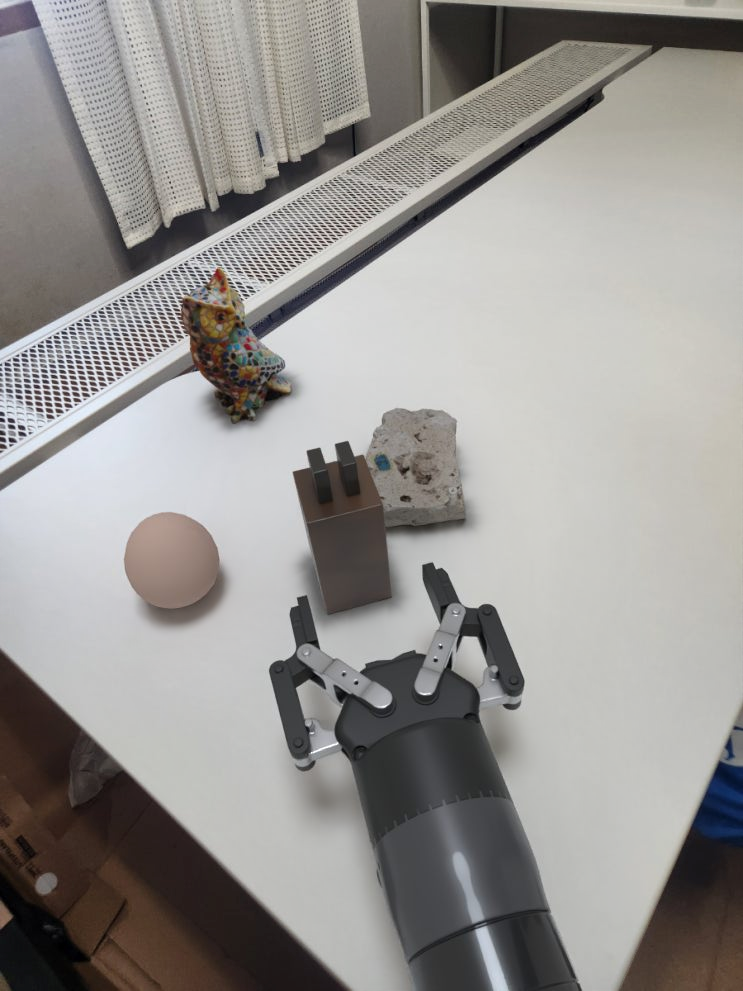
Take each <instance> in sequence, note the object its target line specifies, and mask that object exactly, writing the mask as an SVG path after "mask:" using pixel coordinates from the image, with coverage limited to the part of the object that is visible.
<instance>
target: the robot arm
mask: <svg viewBox="0 0 743 991" xmlns="http://www.w3.org/2000/svg"><path fill="white" fill-rule="evenodd" d="M421 569H422V570H421V573H422V575H421V576H422V581H423V585H424V588H425V591H426V593H427V596H428V598H429V601H430V604H431V605H432V606H431V607H432V608H433V610H434V613H435V616H436V618H437V620H438V624H439V627H438V629H437V630H435V633H434V635H433V638H432V640H431V643H430V645H429V648H428V651H427V653H426V654H425V653H421V652H420V653H419V652H417V651H416V649H413V650H409V651H406V652H402V653H400V654H399V655H396V656H395V657H393V658H392V659H377V660H374V661H370V662H366V663H364V664H365V665H364V667H363V668H362V669H361V670H360V671H358V670H357V669H355V668H354V667H352V666H350V665H349V664H347V663H346V662H344V661H343V660H342V659H340V658H338V657H335V658H333V657H332V656H330V655H328V654H327V653H326V652H324V651H323V650H322V649H321V646H320V642H319V637H318V634H317V629H316V625H315V621H314V617H313V614H312V609H311V605H310V601H309V598H308V594H305V595H301V596H297V597H296V601H297V605H295V606H290V609H289V620H290V624H291V629H292V635H293V638H294V642H295V651H294V653H293V654H292V655H291V656H289V657H288V658H287V659H285V660H282V659H279V660H276V661H274V662H272V663H271V664H270V666H269V668H268V674H269V677H270V681H271V685H272V686H271V687H272V689H273V694H274V698H275V701H276V705H277V709H278V714H279V718H280V721H281V725H282V729H283V733H284V737H285V741H286V745H287V748H288V751H289V754H290V756H291V758H292V762H293V763H294V766H295V767H296V769H297V770H298V771H300V772H309V771H310V770H312V769H313V768H314V767H315V765H316V761H317V760H319V759H322V758H325V757H328V756H330V755H334V754H336V753H339V752H341V753H342V754H343V755H345V757H346V758H347V759H348V761H349V763H350V765H351V769H352V772H353V777H354V782H355V785H356V789H357V794H358V797H359V801H360V806H361V810H362V813H363V817H364V821H365V825H366V829H367V833H368V838H369V841H370V844H371V849H372V854H373V857H374V862H375V865H376V878H377V880H378V883H379V886H380V888H381V890H382V894H383V897H384V902H385V906H386V909H387V912H388V916H389V918H390V921H391V925H392V927H393V930H394V932H395V934H396V938H397V939H398V943H399V945H400V948H401V951H402V953H403V957H404V960H405V964H406V965H407V972H408V976H409V980H410V983H411V988H412V991H583V988H582V986H581V983H580V982H579V978H578V975H577V972H576V971H575V968H574V966H573V962H572V960H571V958H570V954H569V952H568V949H567V948H566V945H565V943H564V940H563V938H562V936H561V932H560V930H559V928H558V925H557V923H556V920H555V918H554V915H552V910H551V907H550V904H549V902H548V898H547V894H546V892H545V887H544V884H543V880H542V876H541V872H540V869H539V865H538V863H537V862H538V861H537V859H536V857H535V854H534V851H533V849H532V846H531V843H530V840H529V838H528V836H527V833H526V830H525V828H524V825H523V823H522V821H521V818H520V815H519V813H518V811H517V808H516V806H515V803H514V801H513V799H512V796H511V793H510V791H509V788H508V785H507V784H506V781H505V779H504V776H503V773H502V771H501V769H500V765H499V764H498V761H497V759H496V756H495V753H494V750H493V749H492V746H491V743H490V741H489V739H488V735H487V734H486V731H485V729H484V725H483V723H482V721H481V718H480V717H481V716H480V711H481V710H485V709H488V708H494V707H497V706H502V707H503V708H504V709H506V710H508V711H516V710H518V709H519V708H520V707H521V705H522V700H523V695H524V688H525V678H524V675H523V673H522V670H521V668H520V665H519V663H518V660H517V658H516V655H515V653H514V650H513V647H512V644H511V642H510V640H509V637H508V635H507V632H506V629H505V627H504V625H503V622H502V620H501V618H500V615H499V612H498V610H497V608H496V606H494V605H492V604H490V603H483V604H481V605H479V606H478V607H468V606H465V605H464V604H462V602H461V601H460V599H459V596H458V594H457V591H456V589H455V587H454V585H453V583H452V580H451V578H450V576H449V573H448V572H447V571H446V570H445V569H444V568H443V567H439V568H436V565H435V564H434V562H433V561H431V562H428V563H427V562H426V563H423V564H422V565H421ZM465 637H471V638H473V637H474V638H477V641H478V643H479V646H480V650H481V651H482V652H481V653H482V654H483V658H484V660H485V663H486V665H487V667H486V668H485V669H484V670H483V673H482V683H481V685H480V686H478V687H476V685H475V684H473V682H471V681H470V680H468V679H466V678H465V677H464V676H462V675H460V674H458V673H456V672H455V671H454V669H455V667H456V662H457V658H458V654H459V652H460V650H461V645H462V643H463V640H464V638H465ZM307 682H309V683H310V684H312V685H313V686H315V687H316V688H317V689H319V690H320V691H322V692H323V693H324V694H325V695H326V696H327V697H328V698H329V699H330V700H331V701H332V702H333V703H334V704H335V705H337V706H338V707H339V708H341V709H340V712H339V714H338V716H337V718H336V721H335V723H334V729H326V728H324V727H323V726H322V724H321V723H320V721H319V720H318V719H317V718H314V717H308V718H305V715H304V710H303V708H302V705H301V700H300V697H299V694H298V689H297V688H298V687H300V686H302V685H303V684H304V683H307Z"/></svg>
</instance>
